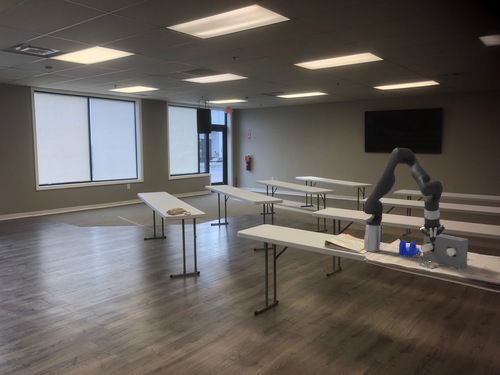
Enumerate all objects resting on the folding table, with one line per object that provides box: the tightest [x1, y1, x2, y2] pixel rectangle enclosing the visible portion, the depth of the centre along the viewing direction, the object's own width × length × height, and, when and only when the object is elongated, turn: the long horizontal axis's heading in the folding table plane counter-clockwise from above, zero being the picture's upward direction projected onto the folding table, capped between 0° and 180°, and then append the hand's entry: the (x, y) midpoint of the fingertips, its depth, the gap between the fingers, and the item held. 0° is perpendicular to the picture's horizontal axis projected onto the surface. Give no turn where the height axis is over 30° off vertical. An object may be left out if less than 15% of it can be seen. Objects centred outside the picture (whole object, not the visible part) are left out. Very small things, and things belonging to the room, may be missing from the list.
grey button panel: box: [422, 233, 469, 270], centre depth 228 cm, size 8×22×16 cm, turn 34°
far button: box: [420, 243, 435, 253], centre depth 230 cm, size 8×4×4 cm, turn 124°
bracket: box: [398, 239, 421, 258], centre depth 250 cm, size 18×8×9 cm, turn 140°
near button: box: [446, 248, 457, 256], centre depth 221 cm, size 8×4×4 cm, turn 124°
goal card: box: [418, 262, 438, 270], centre depth 223 cm, size 6×8×1 cm
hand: (432, 241), depth 217 cm, fingers closed
